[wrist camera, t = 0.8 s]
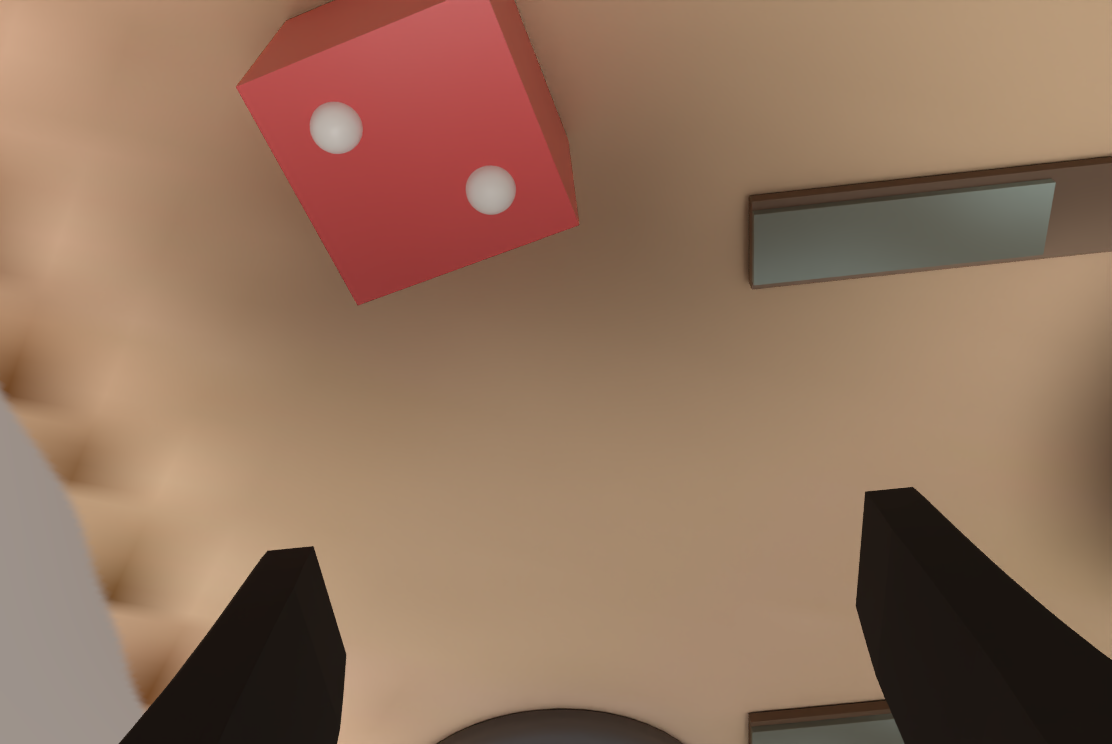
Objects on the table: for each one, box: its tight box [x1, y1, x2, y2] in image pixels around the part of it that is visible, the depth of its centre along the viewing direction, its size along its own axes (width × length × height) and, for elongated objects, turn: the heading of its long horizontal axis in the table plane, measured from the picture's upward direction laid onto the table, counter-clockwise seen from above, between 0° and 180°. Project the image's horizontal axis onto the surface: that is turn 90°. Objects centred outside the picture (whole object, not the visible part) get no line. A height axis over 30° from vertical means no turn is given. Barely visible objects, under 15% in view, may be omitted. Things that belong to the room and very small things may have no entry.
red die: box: [236, 0, 579, 305], centre depth 17 cm, size 4×4×4 cm
